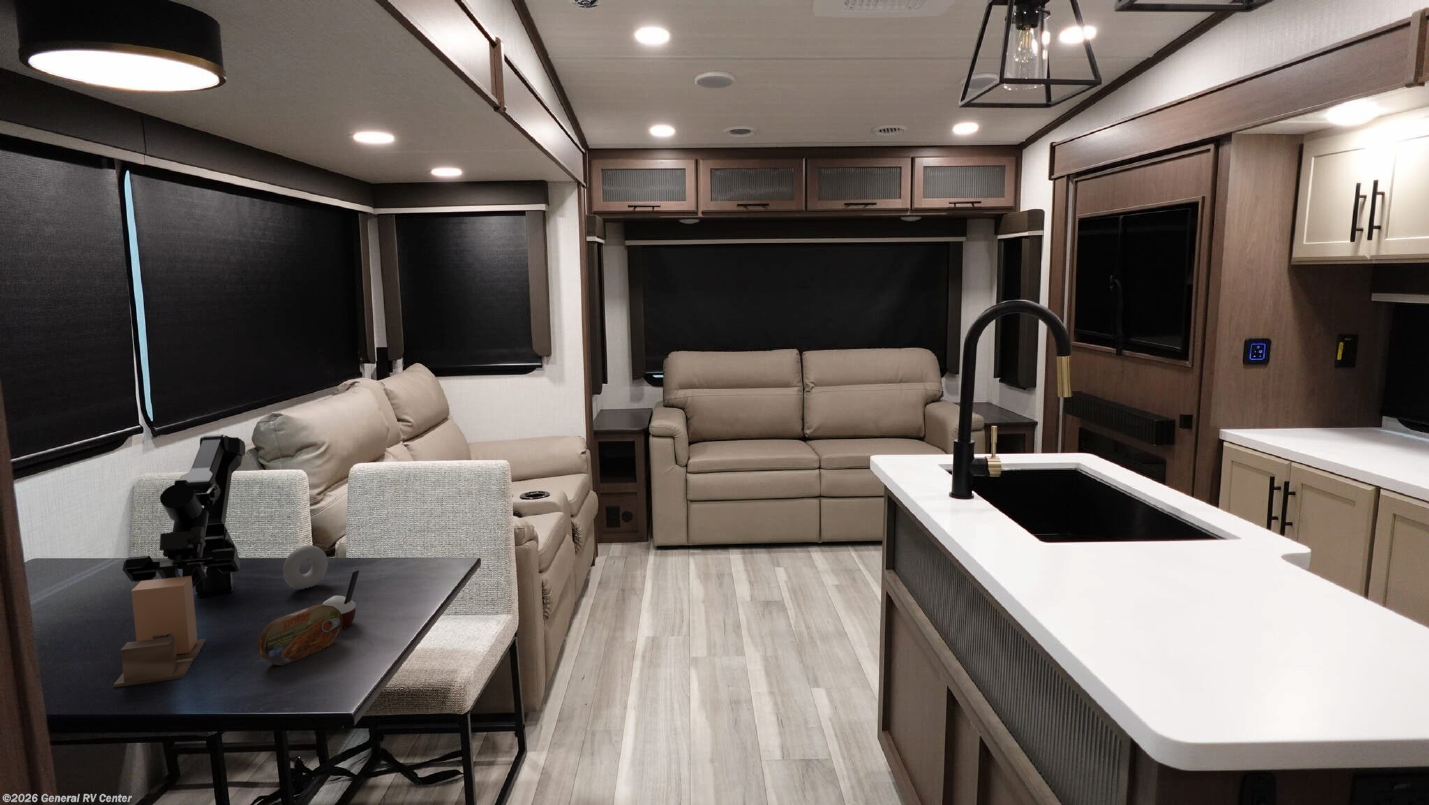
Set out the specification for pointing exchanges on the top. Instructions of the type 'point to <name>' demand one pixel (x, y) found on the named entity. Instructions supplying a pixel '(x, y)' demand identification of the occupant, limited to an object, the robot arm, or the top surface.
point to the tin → (300, 634)
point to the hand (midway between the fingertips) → (176, 604)
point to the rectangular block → (166, 611)
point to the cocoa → (345, 602)
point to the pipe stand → (154, 661)
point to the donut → (294, 563)
